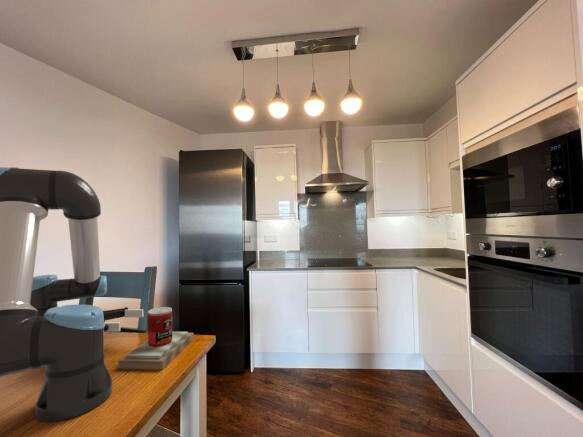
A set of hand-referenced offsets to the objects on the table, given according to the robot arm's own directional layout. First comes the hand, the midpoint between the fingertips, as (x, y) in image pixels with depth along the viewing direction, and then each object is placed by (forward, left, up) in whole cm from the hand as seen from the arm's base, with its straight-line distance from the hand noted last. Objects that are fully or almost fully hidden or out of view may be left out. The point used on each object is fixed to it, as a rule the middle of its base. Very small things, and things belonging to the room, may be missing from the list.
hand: (132, 319), depth 94 cm
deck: (-3, -9, -11) cm, 15 cm away
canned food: (-3, -9, -8) cm, 13 cm away
